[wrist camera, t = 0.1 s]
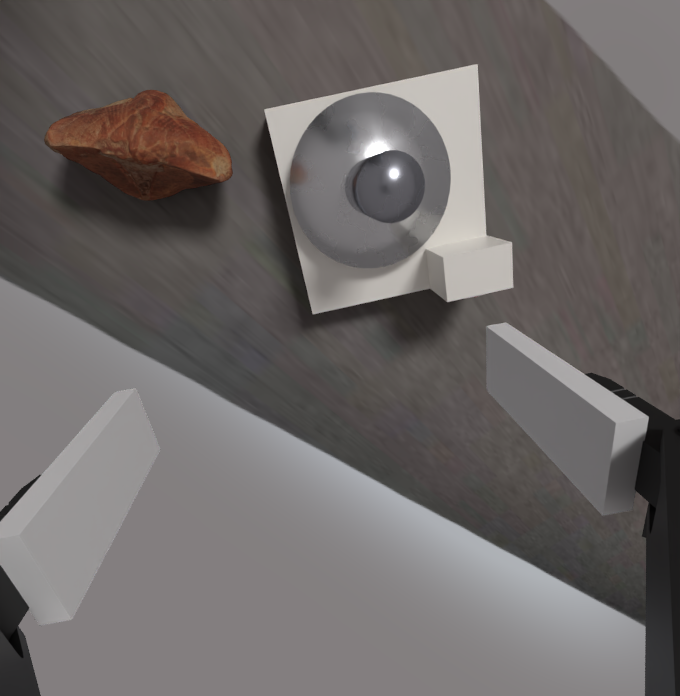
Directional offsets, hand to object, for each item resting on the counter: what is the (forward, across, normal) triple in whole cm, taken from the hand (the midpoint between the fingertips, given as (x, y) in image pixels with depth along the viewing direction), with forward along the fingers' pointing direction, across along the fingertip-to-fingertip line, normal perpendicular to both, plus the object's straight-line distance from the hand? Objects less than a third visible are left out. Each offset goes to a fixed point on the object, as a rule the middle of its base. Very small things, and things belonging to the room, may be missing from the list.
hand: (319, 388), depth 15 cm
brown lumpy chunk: (+28, -11, +12) cm, 32 cm away
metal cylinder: (+23, +7, +6) cm, 25 cm away
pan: (+25, +7, +6) cm, 26 cm away
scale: (+28, +8, +5) cm, 29 cm away
